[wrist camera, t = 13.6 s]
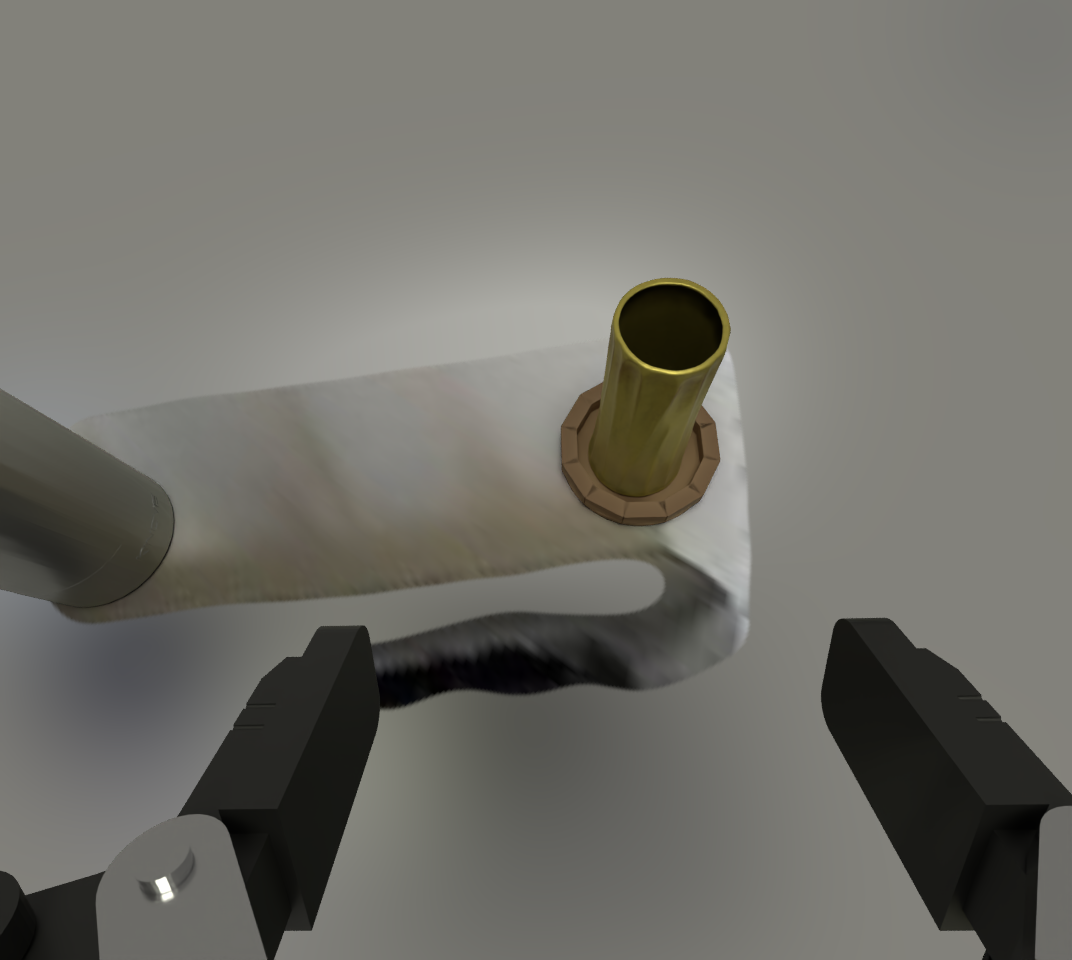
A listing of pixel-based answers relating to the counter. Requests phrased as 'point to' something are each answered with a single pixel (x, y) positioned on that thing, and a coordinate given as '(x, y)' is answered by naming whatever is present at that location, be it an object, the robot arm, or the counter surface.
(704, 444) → the round tray
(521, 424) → the counter surface
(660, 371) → the vase
